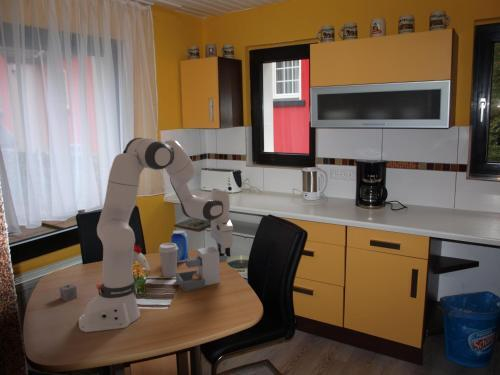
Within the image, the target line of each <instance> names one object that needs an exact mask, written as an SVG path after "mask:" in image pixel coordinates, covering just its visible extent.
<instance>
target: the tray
mask: <svg viewBox="0 0 500 375" xmlns="http://www.w3.org/2000/svg"><path fill="white" fill-rule="evenodd" d="M194 274H198V269H193V270H189V271H188V270H187V271H181V272H176V276H175V279H176V280H175V281H176V283H177V284H178V287H180V290H182V291H183V292H185V293H186V292H189V291H194V290H195V291H196V290H201V289H205V288H206V285H205V279H200V280H195V281H192V276H193V275H194Z"/></svg>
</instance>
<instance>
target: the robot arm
mask: <svg viewBox="0 0 500 375" xmlns="http://www.w3.org/2000/svg"><path fill="white" fill-rule="evenodd" d="M144 169H151V170H155V171H156V170H157V171H158V170H163V169H165V171H166V173H167V175H168V176H169V182H170V184H171V186H172V189H173V191H174V192H175V194H176V197H177V198H178V201H179V202H180V206H181V210H182V213H183V215H184V216H186V218H189V219H190V218H192V219H197V220H201V221H203V220H204V221H206V222H207V221H210V236H211V238H212V239H213V240H214V241H215V243H216V249H217V250H218V243H219V244H220V245H221V249H220V250H221V253H222V254H223V253H225V254H226V249H228V248H232V247H233V243H234V242H233V238H234V237H233V234H234V233H233V231H234V225H233V223H232V221H231V215H230V206H231V205H230V204H231V203H230V202H231V201H230V194H229V191H228V190H226V189H222V188H212V189H211V191H210V193H209V194H208V195H207V196H206V197H199V196H196V195H195V194H194V195H193V194H192V192H191V189H190V187H189V185H188V183H189V182H191V181H192V179H193V178H194V177H195V174H196V166H195V165H194V162H193V160H192V159H191V157H190V156H189V154H188V153H187V151H186V149H185V148H184V147H183V146H182V145H181V144H180V143H179V142H178V140H173V139H169V140H165V141H164V142H162V141H157V140H155V139H152V138H148V137H147V138H144V137H135V138H133V139H131V140H129V141H128V142H127V144H126V146H125V148H124V150H123V152H122V153H119V154H117V155H116V156H114V159H113V162H112V164H111V167H110V171H109V174H108V180H107V186H106V192H105V198H104V202H103V206H102V209H101V212H100V216H99V220H98V223H97V226H96V233H97V234H96V235H97V237H98V238H99V240H100V241H101V243H102V248H103V249H102V250H103V251H102V257H103V258H102V264H101V265H102V266H101V267H102V268H101V269H102V279H103V283H102V282H98V283H96V285H95V286H96V289H97V290H98V294H97V295H96V296H94V298H92V299H91V300H89V302H88V303H87V304H86V305H85V308H84V313H83V314H81V315H80V317H79V319H78V327H79V330H80V331H81V332H84V333H91V332H100V331H107V330H115V329H125V328H127V327H128V326H130V324H132V323H133V322H135V321H137V320H138V319H139V318H140V316H141V312H140V309H139V306H138V303H137V298H136V293H137V290H136V288H137V287H136V280H135V279H134V277H133V251H134V245H136V244H135V243H136V237H135V235H136V234H135V232H134V230H133V228H132V227H131V226H130V225H129V222H130V218H131V216H132V213H133V210H134V208H135V207H136V205H137V204H136V203H137V198H138V193H139V192H138V191H139V186H140V185H139V184H140V177H141V175H142V174H141V173H142V172H143V170H144Z"/></svg>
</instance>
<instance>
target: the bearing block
mask: <svg viewBox="0 0 500 375" xmlns="http://www.w3.org/2000/svg"><path fill="white" fill-rule="evenodd" d="M196 252H197V253H196V254H197V257H200V258H201V259H202V266H197V274H199V275H200V279H205V286H210V285H216V284H220V283H221V270H220V269H221V268H220V261H219V251H218V250H217V248H216V247H214V246H210V247H209V246H208V247H204V248H197V251H196Z"/></svg>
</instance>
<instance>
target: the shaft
mask: <svg viewBox="0 0 500 375" xmlns="http://www.w3.org/2000/svg"><path fill="white" fill-rule="evenodd" d="M220 249H221V245H220V244H219V243H218V251H219V261H220V263H225V262H227V261H228V260H227V259H228V258H227V257H228V256H227V254H226V252H225V253H223V254H222V253H221V250H220ZM185 266H186V267H187V268H196V267H198V266H202V259H201V258H200V257H198V256H194V257H188V258H187V259H186V261H185Z"/></svg>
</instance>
